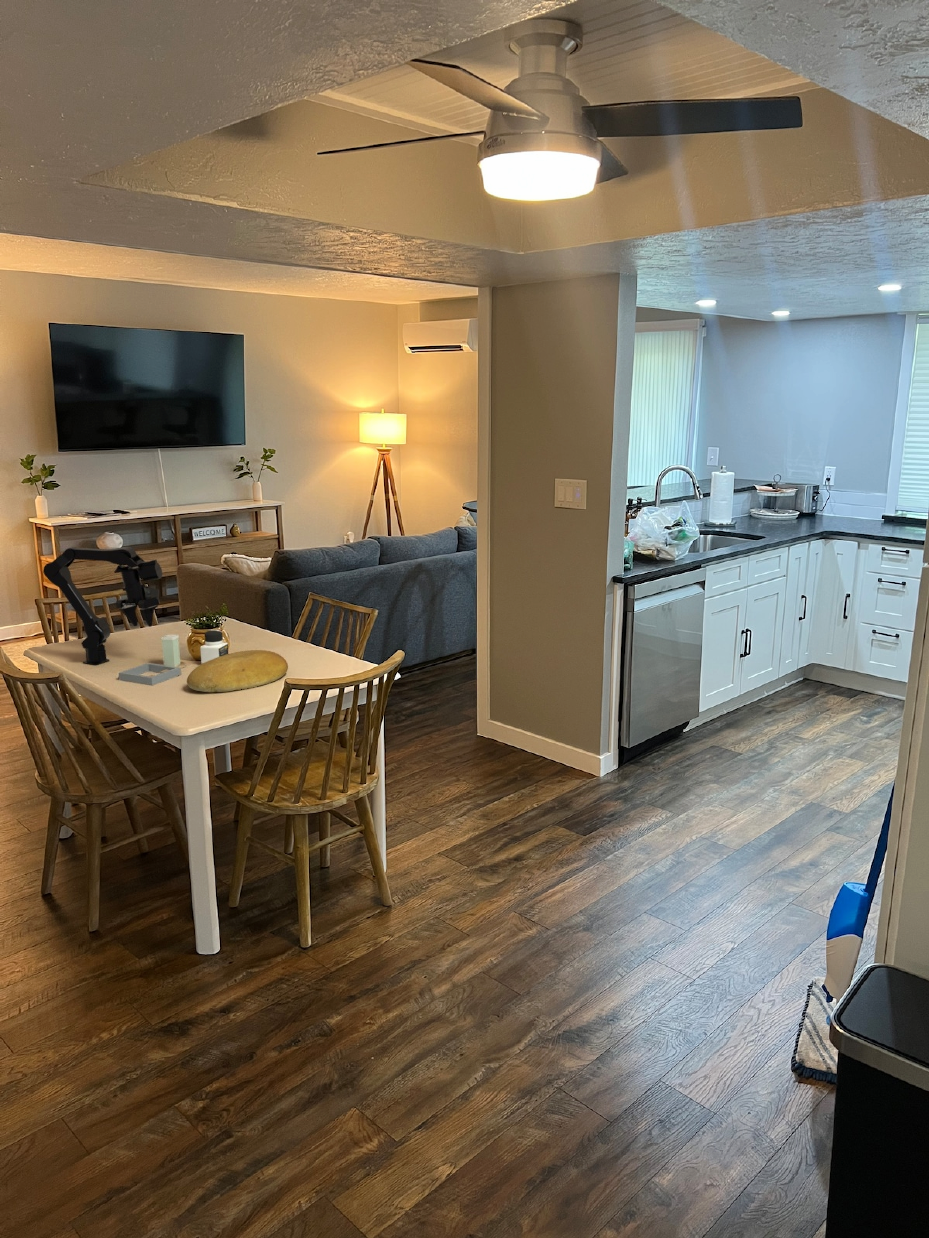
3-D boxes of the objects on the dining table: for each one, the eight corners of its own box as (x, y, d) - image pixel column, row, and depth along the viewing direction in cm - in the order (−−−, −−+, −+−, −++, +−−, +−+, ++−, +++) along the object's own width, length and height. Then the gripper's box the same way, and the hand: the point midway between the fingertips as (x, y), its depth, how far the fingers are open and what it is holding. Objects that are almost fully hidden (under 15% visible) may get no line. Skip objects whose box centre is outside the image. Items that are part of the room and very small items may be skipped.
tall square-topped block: (163, 666, 317) (161, 637, 315) (169, 663, 321) (167, 634, 319) (174, 667, 316) (172, 638, 314) (180, 664, 321) (178, 635, 318)
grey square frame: (119, 680, 303) (118, 672, 303) (148, 669, 315) (148, 662, 315) (152, 685, 297) (151, 678, 297) (181, 674, 309) (180, 667, 309)
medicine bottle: (220, 667, 318) (218, 634, 315) (201, 666, 319) (198, 633, 316) (229, 661, 325) (227, 629, 322) (210, 660, 326) (208, 628, 323)
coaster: (149, 668, 317) (149, 667, 317) (170, 661, 325) (170, 660, 325) (172, 671, 312) (171, 670, 312) (192, 664, 321) (192, 663, 321)
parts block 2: (160, 677, 307) (160, 671, 306) (166, 675, 310) (166, 669, 309) (167, 678, 306) (167, 672, 305) (173, 676, 309) (173, 670, 308)
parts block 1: (145, 683, 301) (144, 677, 300) (151, 680, 304) (151, 674, 303) (152, 684, 300) (151, 678, 299) (158, 681, 302) (158, 675, 302)
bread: (177, 689, 294) (175, 659, 292) (268, 666, 319) (266, 639, 317) (209, 701, 282) (206, 670, 280) (300, 677, 307) (299, 648, 305)
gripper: (167, 577, 318) (177, 620, 322) (137, 577, 330) (147, 619, 333) (139, 585, 310) (150, 629, 313) (110, 585, 321) (120, 628, 325)
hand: (143, 626), depth 321 cm, fingers open, 9 cm apart
